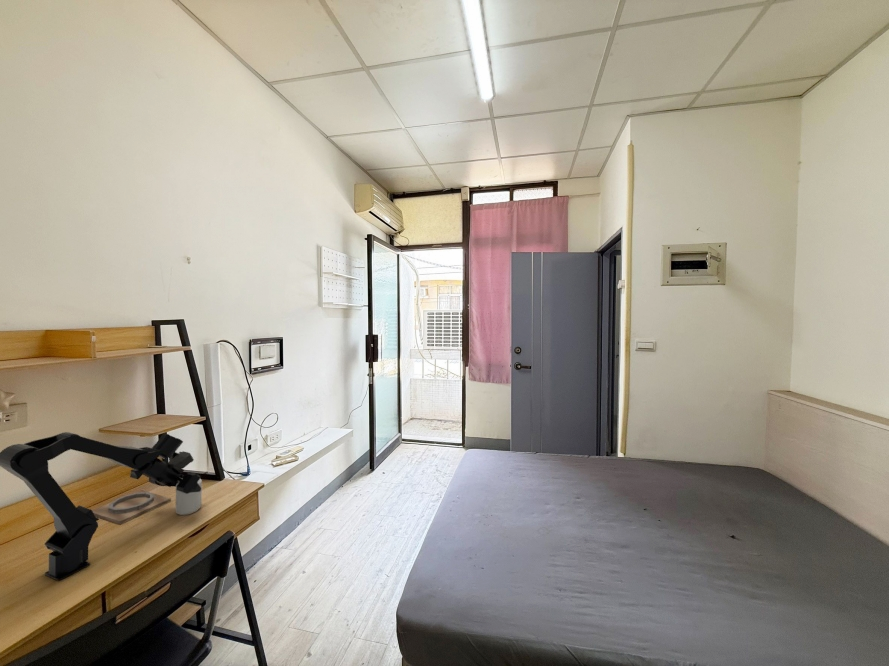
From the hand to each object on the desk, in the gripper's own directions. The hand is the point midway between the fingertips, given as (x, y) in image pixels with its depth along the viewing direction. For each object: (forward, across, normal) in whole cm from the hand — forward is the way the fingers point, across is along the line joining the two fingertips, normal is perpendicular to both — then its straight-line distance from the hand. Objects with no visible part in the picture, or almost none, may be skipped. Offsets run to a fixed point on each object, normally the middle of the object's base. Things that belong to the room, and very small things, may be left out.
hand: (191, 487), depth 124 cm
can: (+5, 0, +7) cm, 8 cm away
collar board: (0, +20, +11) cm, 23 cm away
